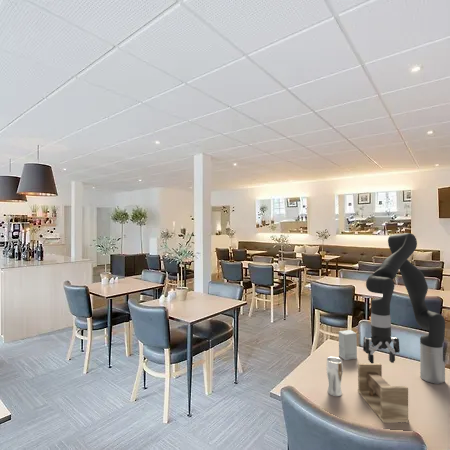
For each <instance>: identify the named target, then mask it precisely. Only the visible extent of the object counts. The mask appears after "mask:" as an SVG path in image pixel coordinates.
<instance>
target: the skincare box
mask: <svg viewBox="0 0 450 450" xmlns="http://www.w3.org/2000/svg"><path fill="white" fill-rule="evenodd" d="M357 335H358V333H356V332H355V331H353V330H351V329H347V330H340V331H339V330H338V356H339V357H340V359H343V360H344V361H348V360H354V359H358V348H357V347H358V344H357V343H358V340H357V339H358V336H357Z"/></svg>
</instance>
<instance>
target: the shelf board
mask: <svg viewBox="0 0 450 450" xmlns="http://www.w3.org/2000/svg"><path fill="white" fill-rule="evenodd" d="M367 384H368V385H369V386H370V387H371V389H372V390H373V391H374V392H375V393H376V394H377V395H378V396H379V397H380V398H381V395H380V386H391V384H390V383H388V381H386V380H385V379H384V378H383V376H382V377H381V376H380V375H379V374H378V373H367Z"/></svg>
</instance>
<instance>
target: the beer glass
mask: <svg viewBox="0 0 450 450" xmlns="http://www.w3.org/2000/svg"><path fill="white" fill-rule="evenodd" d="M343 366H344V364H343V360H342V358H341V357H340V358H339V357H337V356H328V357H327V358H326V376H327V381H328V383H327V384H328V387H327V393H328V395H331V396H333V397H340V396H343V395H342V394H343V393H342V380H343V374H344V371H343V370H344V368H343Z"/></svg>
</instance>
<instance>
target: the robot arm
mask: <svg viewBox="0 0 450 450" xmlns="http://www.w3.org/2000/svg"><path fill="white" fill-rule="evenodd" d="M387 242H388V243H387V244H388V248H389V251H390V253H391V254H390V255H388V257H386V258H385V259H384V260H383V261H382V262H381V265H380V266H379V268H378V269H377V270H375V271H374V272H373V273H371V274H370V275H369V276H368V277H367V279H366V283H365V287H366V289H367V291H368V292H369V293H370V292H371V293H374V294H380V295H382V297H379V298H378V297H377V298H372V299H371V303H370V307H371V309H370V311H371V314H370V333H371V336H370V337H366V336H365V337H363V345H362V346H363V347H362V350H363V352H365V353H366V354H367V358H368V359H367V360H368V362H369V363H375V361H374V359H375V357H374V354H375V352H377V351H378V349H379V350H382V349H385V350H386V349H387V350H388V351H389V352H388V359H389V362H390V363H391V364H394V363H395V362H396V354H397V353H400V352H401V351H400V339H399V338H398V337H397V336H395V335H393V336H392V317H391V303H392V302H391V300H392V297H393V293H394V290H395V282H394V279H395V278H396V276H397V274H398V272H400V275H401V278H402V280H403V284H404V287H405V289H406V291H407V293H408V297H409V299H410V303H411V307H412V311H413V313H414V318H415V321H416V324H417V325H418V326H419V327H420V328H422V329H424V330H427V331H428V334H424V335H421V336H420V338H419V344H420V345H419V348H420V349H419V353H420V354H419V355H420V356H419V361H420V362H419V364H420V366H419V367H420V368H419V369H420V372H419V373H420V374H419V375H420V376H419V377H420V378H421V379H422V380H424V381H425V382H427V383H431V384H437V385H438V384H439V385H440V384H443V383H445V382H446V362H445V361H444V357H443V356H444V355H443V354H444V352H443V351H444V349H443V348H444V347H443V346H444V341H445V337H446V336H445V335H446V334H445V333H446V319H445V317H444V316H443V315H442V314H441V313H438V312H435V311H432V310H429V309H428V307H427V304H426V301H425V299H426V296H427V294H428V292H429V291H428V290H429V286H428V283H427V280H426V278H425V275H424V273H423V272H422V271H421V270H420V269H419V268H418V267H417V266H415V264H413V263H411V262H410V261H409V260H408V259H409V257H410V256H412V255H413V253H414V252H415V251H416V249H417V247H418V240H417V237H416V236H415V235H414V234H413V233H410V232H405V233H397V234H391V235H390V236H389V237H388V238H387ZM391 343H393V344H392V345H391ZM392 346H393V347H392Z"/></svg>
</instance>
